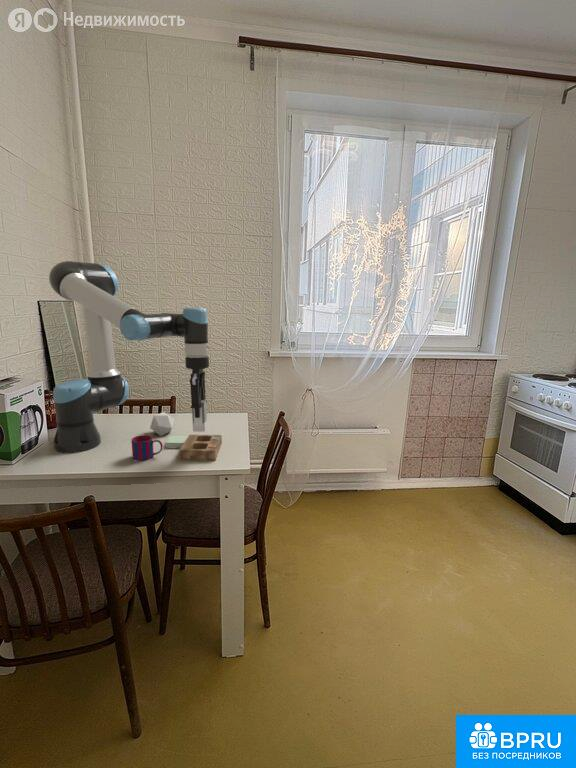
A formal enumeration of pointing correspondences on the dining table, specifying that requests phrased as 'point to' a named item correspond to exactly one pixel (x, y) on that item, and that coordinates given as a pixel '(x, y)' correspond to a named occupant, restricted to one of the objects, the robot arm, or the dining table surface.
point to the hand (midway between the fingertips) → (199, 423)
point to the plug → (204, 418)
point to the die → (162, 423)
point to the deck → (176, 441)
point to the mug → (143, 447)
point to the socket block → (201, 447)
